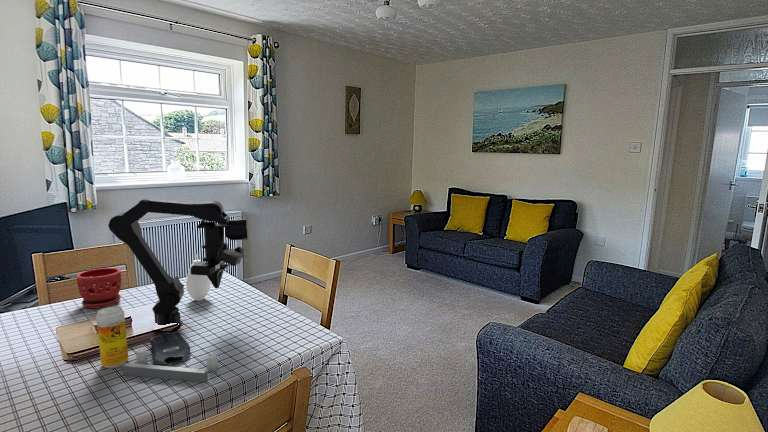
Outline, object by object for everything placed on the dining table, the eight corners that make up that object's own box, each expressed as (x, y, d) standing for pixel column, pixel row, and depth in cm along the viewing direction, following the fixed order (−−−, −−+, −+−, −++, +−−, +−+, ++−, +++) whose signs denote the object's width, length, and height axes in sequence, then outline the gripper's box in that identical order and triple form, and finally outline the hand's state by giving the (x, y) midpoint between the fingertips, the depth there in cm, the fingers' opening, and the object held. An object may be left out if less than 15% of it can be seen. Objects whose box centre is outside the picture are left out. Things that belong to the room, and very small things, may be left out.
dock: (122, 374, 104) (120, 362, 103) (141, 360, 111) (140, 348, 110) (205, 382, 102) (204, 369, 101) (219, 367, 108) (218, 355, 108)
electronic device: (146, 353, 118) (155, 368, 106) (147, 333, 118) (156, 347, 106) (181, 348, 124) (193, 362, 112) (182, 329, 124) (194, 342, 112)
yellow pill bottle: (108, 371, 105) (102, 316, 103) (97, 364, 108) (91, 311, 106) (133, 361, 110) (128, 309, 108) (121, 355, 114) (116, 303, 111)
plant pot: (130, 301, 151) (127, 270, 149) (90, 313, 140) (86, 280, 138) (113, 294, 158) (110, 264, 155) (73, 305, 147) (69, 273, 145)
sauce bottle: (203, 294, 159) (200, 249, 156) (214, 299, 155) (212, 253, 151) (183, 300, 153) (180, 253, 150) (195, 305, 148) (192, 257, 145)
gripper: (223, 249, 120) (225, 300, 123) (251, 235, 138) (253, 280, 141) (187, 247, 121) (191, 297, 124) (220, 234, 140) (222, 278, 142)
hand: (216, 287), depth 133 cm, fingers closed
